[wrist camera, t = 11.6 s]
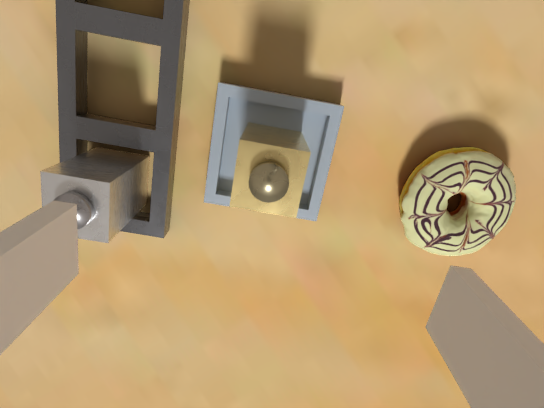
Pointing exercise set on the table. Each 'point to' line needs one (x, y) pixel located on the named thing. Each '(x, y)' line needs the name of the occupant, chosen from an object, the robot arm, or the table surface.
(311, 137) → the parts tray
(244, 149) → the gold block with knob
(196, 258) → the table surface
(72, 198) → the grey knobbed block
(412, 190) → the decorated donut
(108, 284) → the table surface
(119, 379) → the table surface
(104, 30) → the rail
